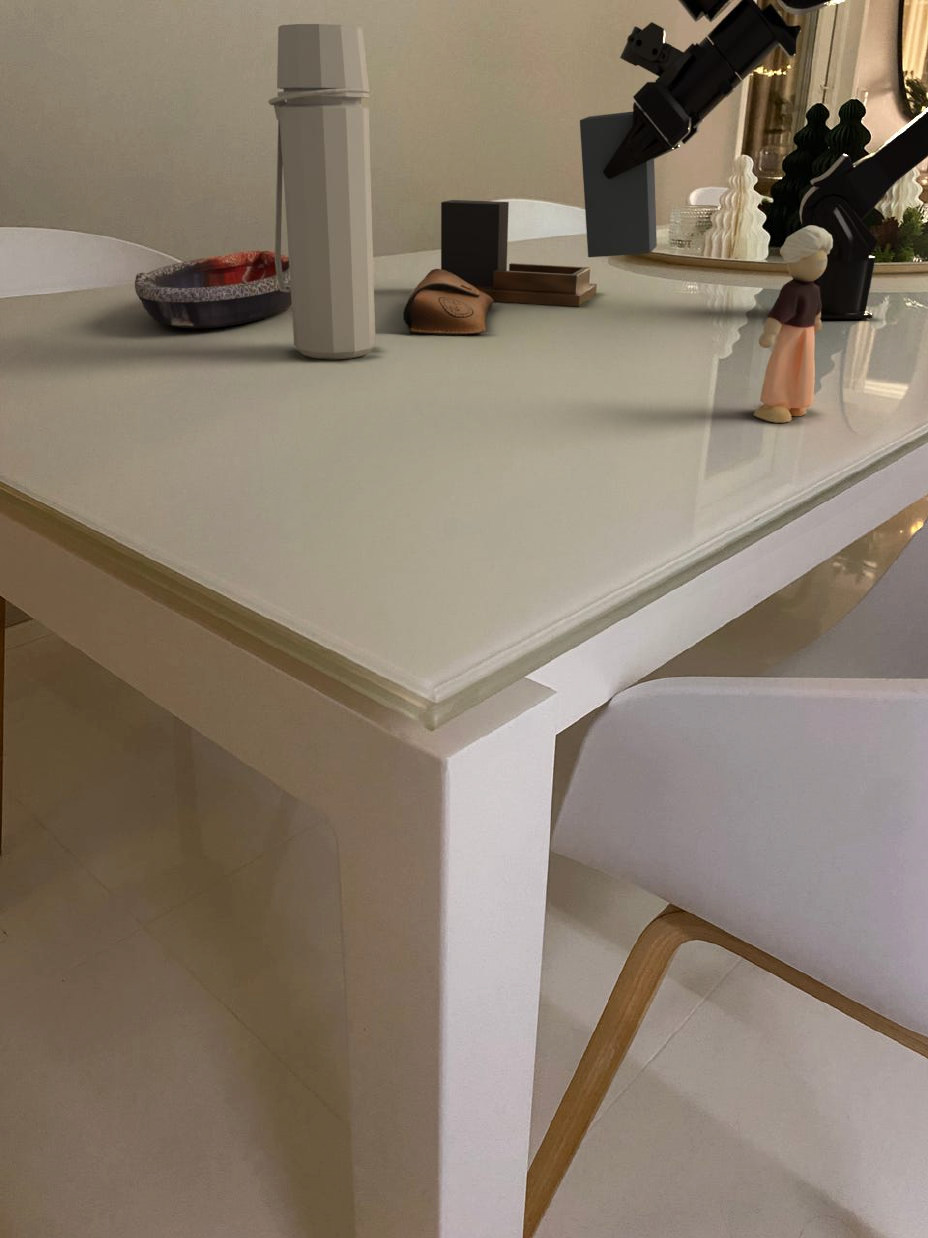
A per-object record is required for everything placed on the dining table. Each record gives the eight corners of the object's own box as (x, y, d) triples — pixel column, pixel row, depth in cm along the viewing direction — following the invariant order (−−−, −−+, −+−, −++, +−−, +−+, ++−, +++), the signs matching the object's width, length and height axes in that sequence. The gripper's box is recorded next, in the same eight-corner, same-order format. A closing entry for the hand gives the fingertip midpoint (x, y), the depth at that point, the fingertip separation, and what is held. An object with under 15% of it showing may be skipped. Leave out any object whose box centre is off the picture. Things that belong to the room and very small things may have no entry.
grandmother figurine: (795, 429, 69) (827, 231, 63) (740, 421, 70) (766, 227, 65) (824, 406, 75) (855, 223, 69) (772, 399, 76) (799, 219, 71)
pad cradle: (596, 294, 122) (602, 203, 117) (578, 306, 113) (584, 209, 109) (451, 285, 127) (452, 197, 122) (424, 296, 118) (424, 203, 114)
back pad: (656, 246, 114) (652, 108, 107) (649, 253, 111) (645, 112, 104) (596, 250, 117) (588, 116, 110) (587, 257, 113) (579, 119, 107)
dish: (95, 334, 96) (87, 279, 93) (215, 287, 123) (211, 243, 121) (252, 341, 93) (248, 285, 91) (339, 292, 121) (337, 248, 119)
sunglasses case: (491, 330, 97) (456, 266, 95) (428, 366, 99) (393, 305, 96) (495, 300, 113) (465, 246, 111) (441, 332, 115) (411, 279, 113)
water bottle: (392, 348, 91) (386, 30, 80) (348, 365, 85) (334, 21, 74) (306, 339, 95) (289, 32, 84) (257, 354, 88) (231, 24, 77)
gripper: (679, 4, 110) (573, 116, 117) (665, -18, 93) (543, 115, 101) (744, 85, 111) (636, 191, 119) (741, 78, 95) (616, 202, 103)
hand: (608, 174), depth 110 cm, fingers closed on back pad, 4 cm apart
